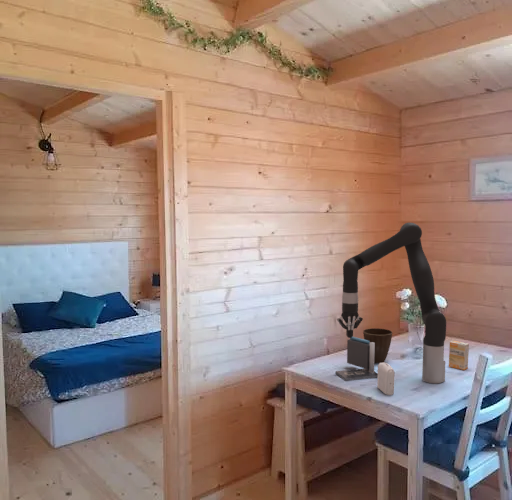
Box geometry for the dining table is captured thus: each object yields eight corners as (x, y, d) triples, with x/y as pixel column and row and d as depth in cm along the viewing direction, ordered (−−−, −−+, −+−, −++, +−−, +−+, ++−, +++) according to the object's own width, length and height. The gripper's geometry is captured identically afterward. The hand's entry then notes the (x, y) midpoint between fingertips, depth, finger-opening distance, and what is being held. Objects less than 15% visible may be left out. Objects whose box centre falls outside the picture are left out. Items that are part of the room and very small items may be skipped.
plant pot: (366, 365, 262) (367, 335, 260) (359, 357, 277) (360, 328, 275) (395, 365, 262) (396, 334, 261) (387, 357, 277) (387, 328, 276)
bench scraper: (376, 370, 249) (376, 341, 248) (370, 372, 246) (371, 342, 245) (352, 363, 261) (352, 335, 259) (347, 364, 258) (347, 336, 257)
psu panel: (368, 370, 254) (368, 367, 254) (380, 377, 244) (380, 374, 244) (335, 373, 249) (335, 370, 249) (345, 380, 239) (345, 377, 239)
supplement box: (448, 367, 260) (449, 341, 259) (452, 365, 263) (453, 340, 262) (464, 370, 254) (465, 344, 253) (468, 368, 257) (469, 343, 256)
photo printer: (395, 395, 221) (396, 367, 220) (386, 395, 220) (386, 367, 219) (384, 386, 231) (385, 360, 230) (376, 387, 230) (376, 360, 229)
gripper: (359, 299, 248) (358, 334, 249) (334, 300, 244) (333, 336, 246) (366, 302, 241) (365, 338, 242) (340, 303, 237) (340, 340, 238)
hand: (349, 337), depth 244 cm, fingers closed
